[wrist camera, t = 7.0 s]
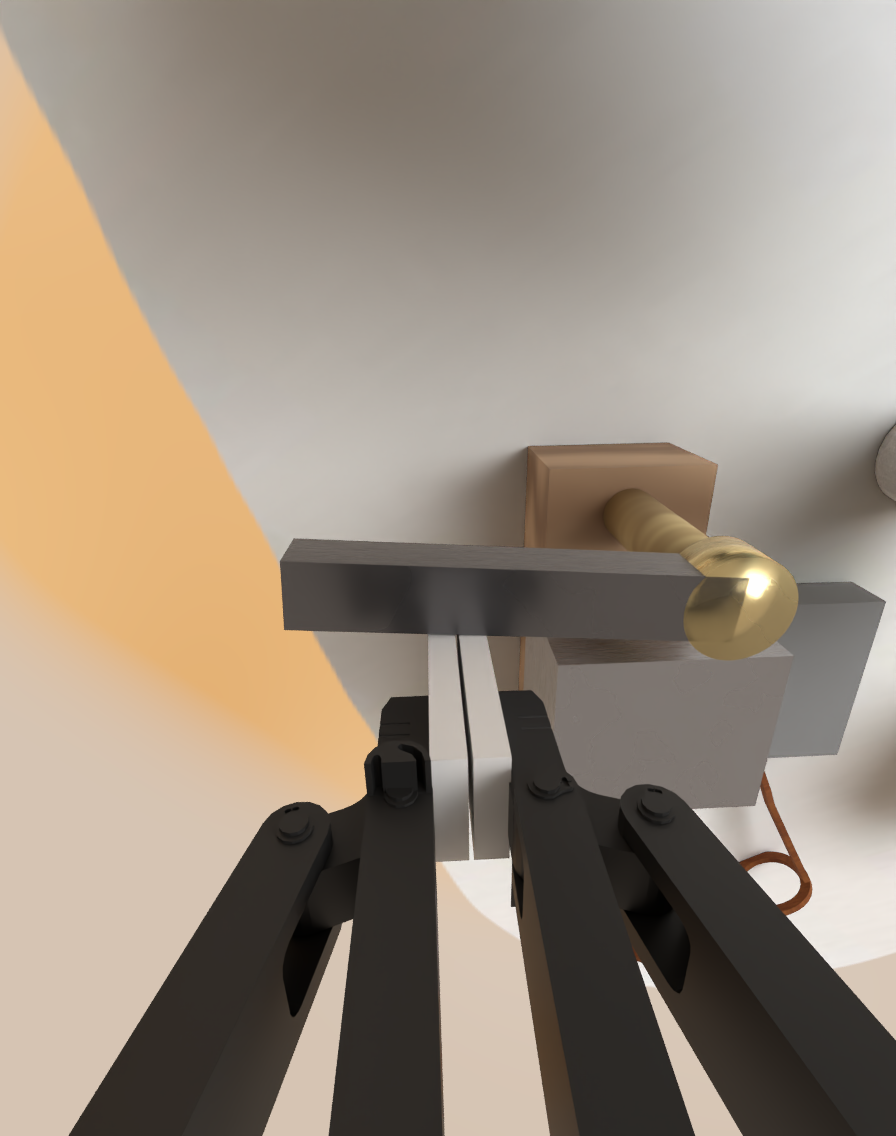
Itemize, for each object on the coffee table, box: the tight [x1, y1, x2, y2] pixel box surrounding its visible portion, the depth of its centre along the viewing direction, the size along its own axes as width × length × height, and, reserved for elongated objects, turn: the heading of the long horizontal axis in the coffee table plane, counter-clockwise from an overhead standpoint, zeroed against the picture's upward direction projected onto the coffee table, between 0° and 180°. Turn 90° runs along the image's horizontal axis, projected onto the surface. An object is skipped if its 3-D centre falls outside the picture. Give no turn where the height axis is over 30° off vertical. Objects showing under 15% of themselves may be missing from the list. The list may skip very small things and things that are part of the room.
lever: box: [280, 536, 798, 661], centre depth 16 cm, size 14×3×2 cm, turn 87°
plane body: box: [519, 443, 718, 691], centre depth 26 cm, size 18×7×12 cm, turn 1°
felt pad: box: [768, 582, 886, 758], centre depth 32 cm, size 10×7×2 cm
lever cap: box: [523, 637, 794, 809], centre depth 24 cm, size 7×8×6 cm
